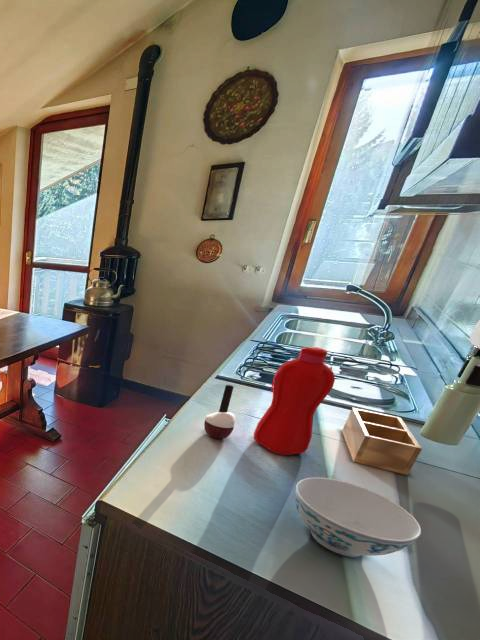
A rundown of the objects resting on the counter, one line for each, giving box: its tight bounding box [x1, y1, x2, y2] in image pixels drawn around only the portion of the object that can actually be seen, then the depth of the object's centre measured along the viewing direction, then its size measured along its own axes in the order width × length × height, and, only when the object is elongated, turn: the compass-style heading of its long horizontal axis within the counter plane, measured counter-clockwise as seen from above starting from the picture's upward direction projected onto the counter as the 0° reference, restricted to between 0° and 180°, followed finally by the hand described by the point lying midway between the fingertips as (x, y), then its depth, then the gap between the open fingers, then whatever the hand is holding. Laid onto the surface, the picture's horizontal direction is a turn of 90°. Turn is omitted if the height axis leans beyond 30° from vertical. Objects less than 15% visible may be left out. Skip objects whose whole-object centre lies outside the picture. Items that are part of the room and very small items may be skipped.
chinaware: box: [294, 477, 422, 558], centre depth 65 cm, size 15×15×8 cm
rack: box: [341, 407, 423, 476], centre depth 91 cm, size 9×17×7 cm, turn 145°
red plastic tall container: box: [253, 346, 336, 456], centre depth 90 cm, size 9×11×25 cm
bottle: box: [419, 356, 480, 447], centre depth 83 cm, size 6×6×19 cm
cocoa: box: [203, 384, 236, 440], centre depth 96 cm, size 10×6×12 cm, turn 122°
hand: (472, 381), depth 82 cm, fingers closed on bottle, 3 cm apart
